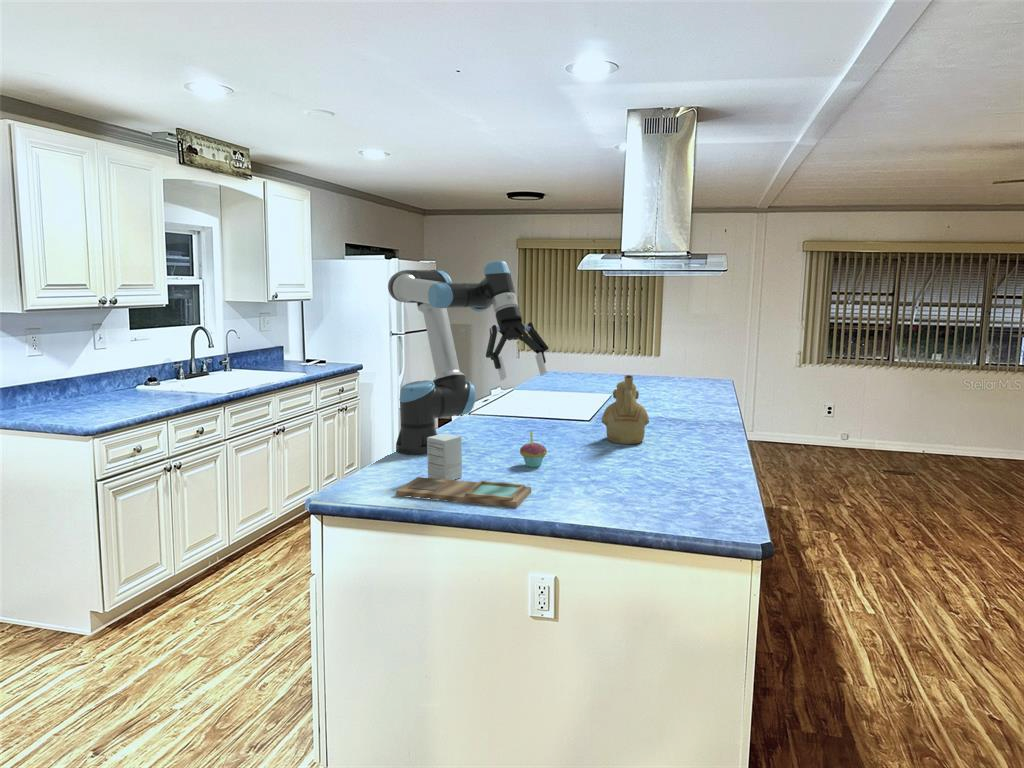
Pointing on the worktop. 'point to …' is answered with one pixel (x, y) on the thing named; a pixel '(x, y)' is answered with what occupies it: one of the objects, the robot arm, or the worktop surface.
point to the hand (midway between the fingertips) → (524, 376)
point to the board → (467, 491)
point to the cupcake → (533, 453)
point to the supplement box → (444, 457)
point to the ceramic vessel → (625, 415)
